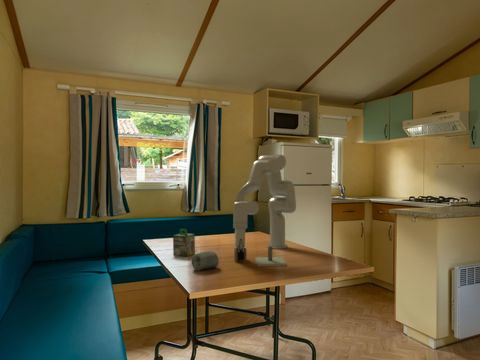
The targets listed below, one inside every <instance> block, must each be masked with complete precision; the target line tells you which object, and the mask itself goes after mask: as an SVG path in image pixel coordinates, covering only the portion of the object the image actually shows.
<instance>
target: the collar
mask: <svg viewBox="0 0 480 360" xmlns="http://www.w3.org/2000/svg"><path fill="white" fill-rule="evenodd" d="M233 249H234V254H233V256H234V257H233V259H234V262H236V263H239V262H242V263H243V262H246V263H247V249H246V247H244V260H238V248H236V247H234V248H233ZM239 250H240V249H239Z"/></svg>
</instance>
